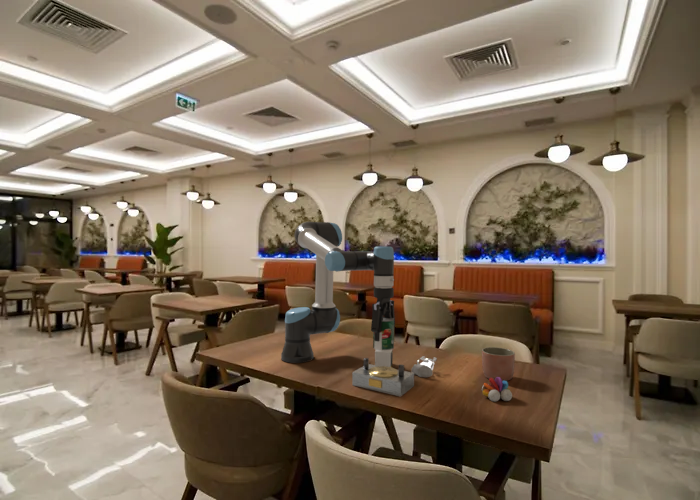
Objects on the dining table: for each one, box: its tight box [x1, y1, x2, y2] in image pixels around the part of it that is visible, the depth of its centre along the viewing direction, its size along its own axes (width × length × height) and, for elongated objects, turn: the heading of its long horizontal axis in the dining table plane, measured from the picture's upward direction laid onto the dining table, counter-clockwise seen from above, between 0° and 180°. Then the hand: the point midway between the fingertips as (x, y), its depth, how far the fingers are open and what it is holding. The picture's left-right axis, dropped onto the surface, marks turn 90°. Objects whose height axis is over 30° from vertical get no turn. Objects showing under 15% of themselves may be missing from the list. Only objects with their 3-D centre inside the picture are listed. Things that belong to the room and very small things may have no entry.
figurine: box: [411, 355, 438, 378], centre depth 155 cm, size 9×6×12 cm
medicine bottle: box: [374, 348, 394, 368], centre depth 165 cm, size 7×7×12 cm
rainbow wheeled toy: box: [481, 377, 513, 402], centre depth 130 cm, size 8×10×7 cm
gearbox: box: [351, 357, 415, 397], centre depth 141 cm, size 20×13×9 cm, turn 58°
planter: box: [481, 346, 516, 382], centre depth 150 cm, size 12×12×11 cm
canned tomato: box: [372, 316, 395, 350], centre depth 141 cm, size 8×8×11 cm
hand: (383, 347), depth 141 cm, fingers closed on canned tomato, 8 cm apart
